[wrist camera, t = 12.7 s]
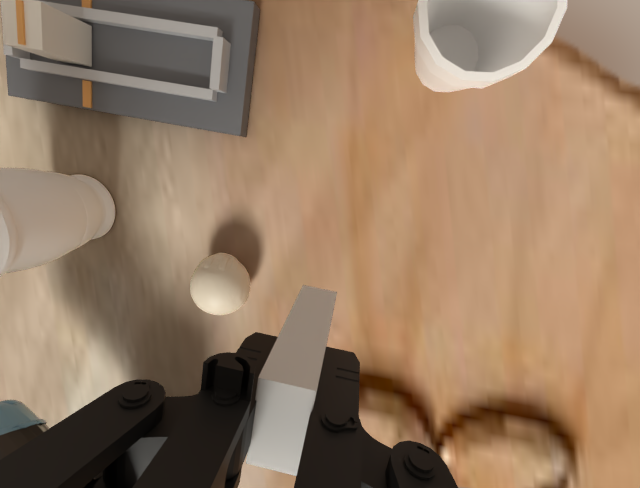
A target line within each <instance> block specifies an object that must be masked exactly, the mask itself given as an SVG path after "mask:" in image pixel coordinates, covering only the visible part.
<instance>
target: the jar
mask: <svg viewBox="0 0 640 488" xmlns="http://www.w3.org/2000/svg"><path fill="white" fill-rule="evenodd" d="M114 220H115V205H114V201H113V199H112V197H111V195H110V193H109V191H108V190H107V189H106V187H105V186H104V185H103V184H101V183H100V182H99V181H98V180H96V179H94V178H92V177H90V176H87V175H81V174H76V175H71V176H69V175H65V174H61V173H56V172H49V171H41V170H34V169H25V168H0V277H1V276H2V275H3V274H5V273H10V272H16V271H21V270H26V269H30V268H34V267H37V266H41V265H44V264H46V263H49V262H51V261H54V260H56V259H58V258H60V257H62V256H64V255H65V254H67V253H69V252H70V251H73V250H75V249H77V248H79V247H81V246H82V245H84V244H85V243H87V242H88V241H89V240H90V239H96V238H99V237H102V236H103V235H105V234H106V233H107V232H108V231H109V230H110V229H111V227H112V225H113V223H114Z"/></svg>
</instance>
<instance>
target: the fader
mask: <svg viewBox="0 0 640 488" xmlns="http://www.w3.org/2000/svg"><path fill="white" fill-rule="evenodd" d="M1 12H2V28H3V44H5V45H8V46H11V47H15V48H18V49H21V50H24V51H27V52H30V53H34V54H37V55H40V56H43V57H46V58H49V59H52V60H56V61H59V62H65V63H71V64H78V65H84V66H90V67H92V26H90V25H88V24H86V23H84V22H82V21H80V20H78V19H76V18H74V17H72V16H70V15H68V14H65V13H63V12H61V11H59V10H57V9H55V8H53V7H51V6H49V5H47V4H45V3H43V2H40V1H34V0H1Z"/></svg>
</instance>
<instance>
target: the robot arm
mask: <svg viewBox="0 0 640 488" xmlns="http://www.w3.org/2000/svg"><path fill="white" fill-rule="evenodd" d="M336 295H337V292H334V291H330V290H325V289H320V288H315V287H310V286H306V285H303V286H302V288H301V290H300V293H299V295H298V297H297V299H296V301H295V303H294V305H293V307H292V309H291V311H290V313H289V315H288V317H287V319H286V321H285V323H284V325H283V328H282V330H281V332H280V334H279V336H278V337H276V336H271V335H266V334H262V333H257V332H255V333H254V334H252V335H250V336H249V337H247V338H245V340H244V341H243V343H242V344H241V346H240V348H239V349H238V350H237V352H236V353H229V352H228V353H220V354H216V355H214V356H211V357H209V358H208V359H207V360H206V361H204V362H203V373H202V384H201V391H200V392H199V393H198V394H197V395H193V396H186V397H165V391H164V388H163V386H161V385H160V384H159V383H157V382H155V381H151V380H133V381H129V382H125V383H123V384H121V385H119V386H116V387H114V388H113V389H111V390H110V391H108V392H107V393H105V394H103V395H102V396H100V397H99V398H97V399H96V400H94V401H92V402H91V403H89V404H88V405H86V406H84V407H83V408H81V409H80V410H78V411H77V412H75V413H73V414H72V415H70V416H69V417H67V418H66V419H64V420H62V421H61V422H59V423H58V424H56V425H54V426H53V427H51V428H49V427H48V426H47V425H46V421H45V420H43V419H39V418H38V417H37V416H36V415H35V414H34V413H33V412H32V411H31V410H30V409H29V408H28V407H26V406H25V405H24V404H23V403H22V402H20V401H16V400H5V401H1V402H0V488H237V487H238V485H239V482H240V476H241V469H242V464H243V462H244V459H245V457H246V454H247V460H246V463H247V464H251V465H255V466H259V467H262V468H266V469H270V470H274V471H278V472H282V473H286V474H290V475H294V476H296V481H295V485H294V488H458V487H457V485H456V483H455V481H454V479H453V477H452V475H451V473H450V471H449V469H448V467H447V465H446V464H445V463H444V461H443V460H442V458H441V457H440V456H439V455H438V454H437V453H435V452H434V451H433V450H432V449H431V448H429V447H427V446H425V445H423V444H421V443H418V442H413V441H404V442H399V443H398V444H396V445H395V446H393V449H391V448H389V447H388V446H386V445H384V444H382V443H380V442H378V441H377V440H375V439H374V438H372V437H371V436H370V435H369V434H368V433H367V432H366V431H365V430H364V428H363V427H362V425H361V422H360V419H359V415H358V412H359V371H360V362H359V361H358V359H357V357H356V355H355V354H354V353H353V352H348V351H344V350H339V349H335V348H330V347H326V346H327V341H328V336H329V330H330V325H331V320H332V315H333V310H334V305H335V300H336ZM247 452H248V453H247Z"/></svg>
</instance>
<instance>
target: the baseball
mask: <svg viewBox="0 0 640 488" xmlns="http://www.w3.org/2000/svg"><path fill="white" fill-rule="evenodd" d="M249 291H250V278H249V274H248V272H247V270H246V268H245V267H244V266H243V265H242V264H241V263H240V262H239V261H238V260H237V258H235V257H234V256H232V255H230V254H227V253H217V254H214V255H211V256H208V257H206V258H205V259H203V260H202V261H201V262H200V263H199V265H198V267H197V268H196V269H195V271H194V273H193V275H192V278H191V283H190V292H191V296H192V298H193V300H194V302H195V304H196V305H197V306H198V307H199V308H200V309H201V310H203V311H205V312H207V313H210V314H213V315H225V314H229V313H232V312H234V311H236V310H238V309H239V308H240V307H241V306H242V305H243V304H244V303H245V302H246V300H247V298H248V295H249Z"/></svg>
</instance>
